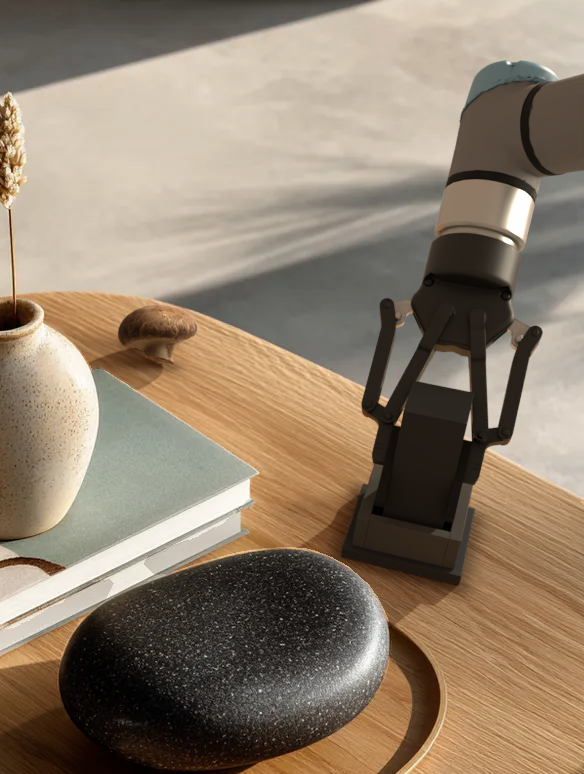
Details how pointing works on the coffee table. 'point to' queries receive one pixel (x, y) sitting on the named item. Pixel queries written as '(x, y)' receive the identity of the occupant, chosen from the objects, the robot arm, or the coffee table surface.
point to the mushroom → (157, 331)
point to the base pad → (408, 538)
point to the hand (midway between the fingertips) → (414, 511)
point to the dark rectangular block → (427, 454)
